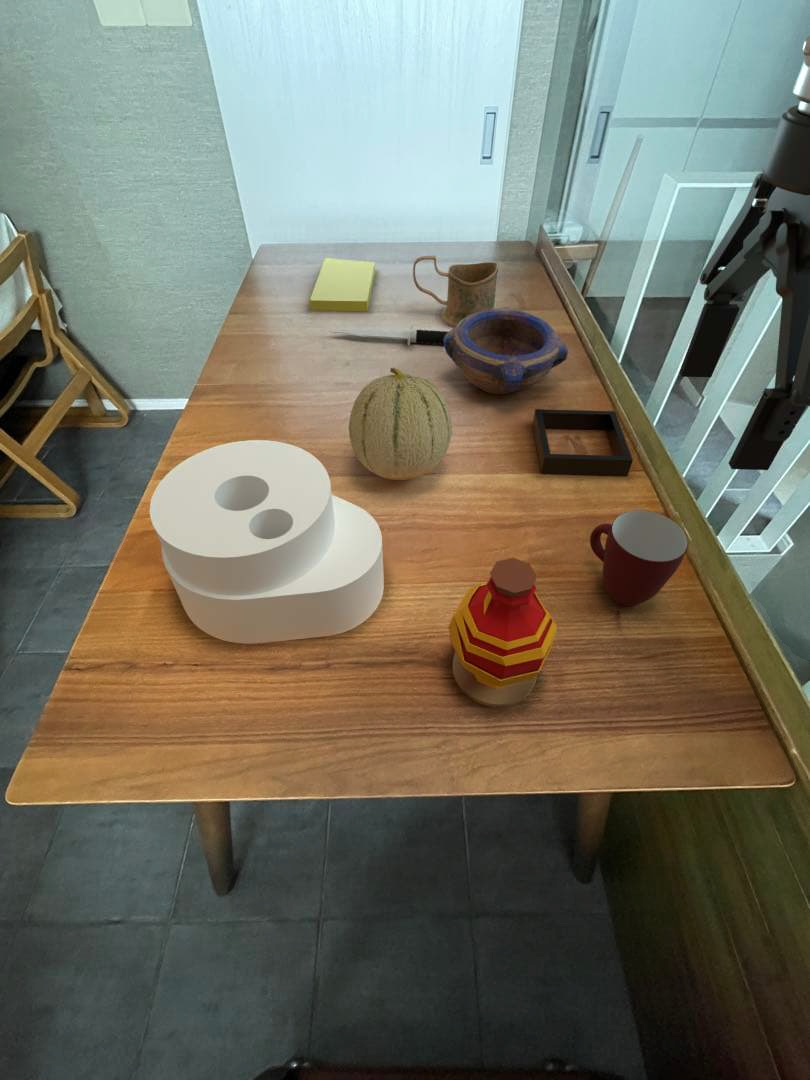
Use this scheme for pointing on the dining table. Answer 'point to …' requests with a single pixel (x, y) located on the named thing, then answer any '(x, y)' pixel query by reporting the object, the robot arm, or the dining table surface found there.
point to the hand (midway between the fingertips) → (718, 416)
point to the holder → (581, 463)
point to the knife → (400, 335)
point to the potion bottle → (503, 627)
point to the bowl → (504, 349)
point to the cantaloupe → (400, 426)
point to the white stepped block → (266, 545)
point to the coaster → (490, 688)
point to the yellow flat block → (343, 286)
